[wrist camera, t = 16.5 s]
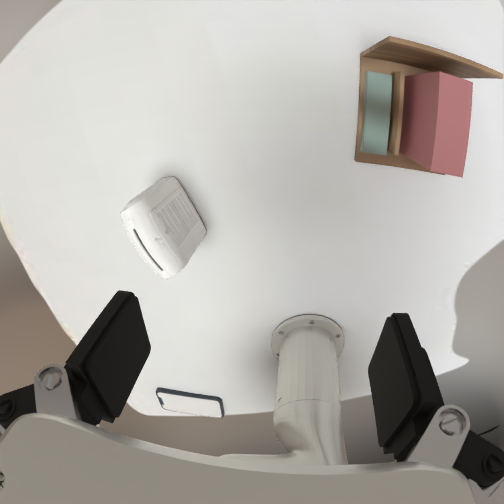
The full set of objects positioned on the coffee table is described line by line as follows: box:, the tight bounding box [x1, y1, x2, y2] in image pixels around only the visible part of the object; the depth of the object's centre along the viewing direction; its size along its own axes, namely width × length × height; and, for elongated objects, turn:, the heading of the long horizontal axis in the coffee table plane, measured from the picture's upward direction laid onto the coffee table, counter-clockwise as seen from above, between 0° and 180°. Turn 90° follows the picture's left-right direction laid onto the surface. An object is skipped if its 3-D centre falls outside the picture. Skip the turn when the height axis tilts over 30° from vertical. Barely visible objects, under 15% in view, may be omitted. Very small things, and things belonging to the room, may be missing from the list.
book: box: [399, 72, 473, 177], centre depth 26 cm, size 10×4×10 cm, turn 179°
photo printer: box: [120, 177, 206, 279], centre depth 37 cm, size 10×4×12 cm, turn 27°
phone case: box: [156, 388, 224, 418], centre depth 65 cm, size 9×2×16 cm
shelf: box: [355, 36, 503, 175], centre depth 27 cm, size 14×13×12 cm
